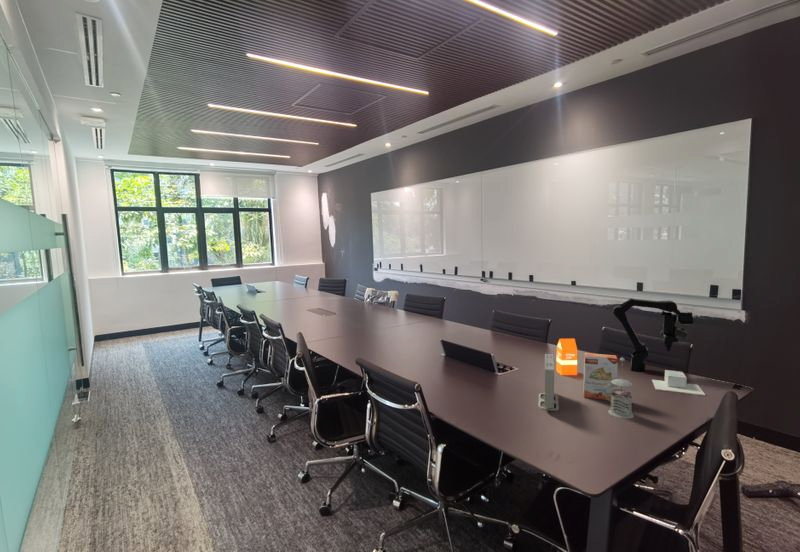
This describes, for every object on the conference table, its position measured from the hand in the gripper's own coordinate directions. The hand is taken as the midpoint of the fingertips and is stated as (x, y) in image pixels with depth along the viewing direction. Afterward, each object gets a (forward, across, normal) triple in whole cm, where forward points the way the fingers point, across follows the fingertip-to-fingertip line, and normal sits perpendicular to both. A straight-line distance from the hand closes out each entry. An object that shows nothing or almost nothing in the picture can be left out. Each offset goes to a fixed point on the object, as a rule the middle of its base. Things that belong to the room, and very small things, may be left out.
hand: (668, 350), depth 218 cm
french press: (+13, -69, +26) cm, 74 cm away
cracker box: (+13, -53, +33) cm, 64 cm away
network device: (+13, -69, +54) cm, 89 cm away
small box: (+10, -14, -1) cm, 17 cm away
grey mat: (+13, -23, -2) cm, 27 cm away
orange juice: (+13, -22, +51) cm, 57 cm away
